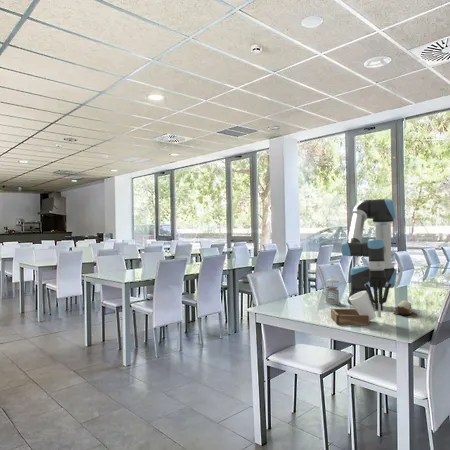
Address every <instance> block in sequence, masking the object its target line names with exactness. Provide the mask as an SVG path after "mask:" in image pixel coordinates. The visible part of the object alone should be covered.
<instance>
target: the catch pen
mask: <svg viewBox="0 0 450 450" xmlns="http://www.w3.org/2000/svg"><path fill="white" fill-rule="evenodd" d="M330 316H331V319H332V321H334V323H335V324H336V325H339V326H340V325H343V326H347V325H348V326H369V325H370V321H369V316H368V315H359V313H358V312H357V310H356V309H355V308H330Z"/></svg>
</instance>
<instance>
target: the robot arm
mask: <svg viewBox="0 0 450 450" xmlns="http://www.w3.org/2000/svg"><path fill="white" fill-rule="evenodd" d="M396 211H397V210H396V207H395V201H394V200H393V199H390V198H380V199H379V198H378V199H377V198H376V199H363V200H362V201H359V202H358V203H357V204H356V205H355V206H353V208H352V209H351V211H350V217H349V218H350V222H349V223H350V224H349V229H348V234H347V237H346V238H347V240H346V241H344V242H342V243H341V247H340V248H341V249H340V251H341V255H342V256H346V257H366V258H367V257H368V265H359V266H354V267H351V268H350V292H349V294H348V298H347V303H348V304H349V305H352V303H351V302H350V300H349V298H350V297H351V296H352V295H354V294H356V293H358V292H361V291H367V293H368V295H369V298H370V301H371V304H372V306H373V305H374V311H376V316H377V318H382V311H383V310H384V308H383V307H384V306H383V305H384V303H385V304H386V303H387V300H388V295H389V293H390V292H389V291H390V289H393V288H394V287H395V286H396V280H397V272H398V271H397V268H395V266H394V264H393V263H392V224H393V223H394V220H395V219H397V213H396ZM367 219H368V220H369V219H371V220H372V223H373V224H375V238H371V239H370V238H369V239H368V240H367V242H365V241H364V242H363V240H362V239H363V234H364V227H365V222H366V220H367ZM371 288H372V289H373V291H372V289H371ZM383 290H384V292H383Z"/></svg>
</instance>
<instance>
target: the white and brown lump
mask: <svg viewBox="0 0 450 450" xmlns="http://www.w3.org/2000/svg"><path fill="white" fill-rule="evenodd" d="M396 307H397V308H396V309H397V311H394V312H393V314H392V315H395V316H400V317H401V316H402V317H406V316H407V317H408V316H409V317H408V318H414V316H415V317H417V316H418V313H417V312H413V311H412V304H411V303H410V301H407V300H401V301H400V302H399V303H398V304H397V306H396Z"/></svg>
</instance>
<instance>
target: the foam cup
mask: <svg viewBox="0 0 450 450" xmlns="http://www.w3.org/2000/svg"><path fill="white" fill-rule="evenodd" d="M349 300H350V302H351V303H352V304H351V305H352V307H354V309H356V310H357V312H358V313H359V315H368V316H369V322H370V321H373V320H374V319H375V318H376V316H377V314H376V313H375V308H374V307H373V305H372V304H371V301H370V298H369V295H368V293H367V291H361V292H358V293H356V294H354V295H352V296H351V297H350V298H349Z"/></svg>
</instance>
